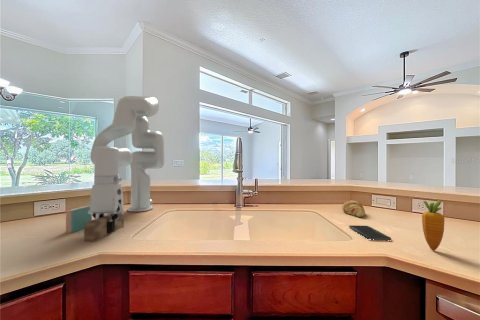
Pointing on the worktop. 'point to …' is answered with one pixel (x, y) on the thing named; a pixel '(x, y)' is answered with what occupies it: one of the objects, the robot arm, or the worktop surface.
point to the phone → (369, 232)
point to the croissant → (353, 208)
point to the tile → (77, 218)
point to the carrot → (433, 225)
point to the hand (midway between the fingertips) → (105, 231)
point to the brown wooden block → (100, 228)
